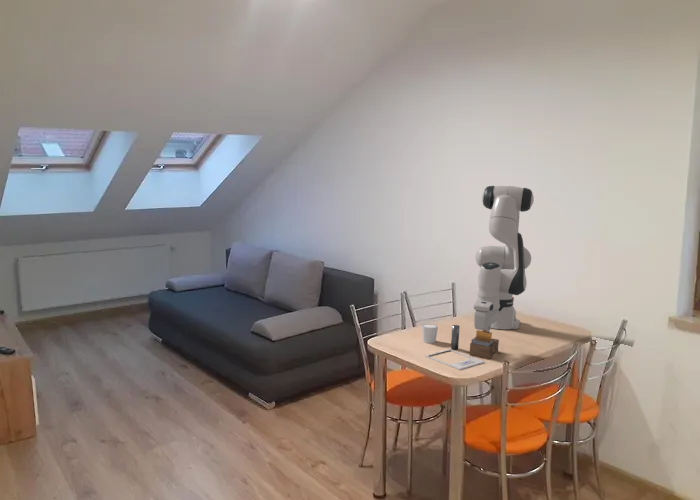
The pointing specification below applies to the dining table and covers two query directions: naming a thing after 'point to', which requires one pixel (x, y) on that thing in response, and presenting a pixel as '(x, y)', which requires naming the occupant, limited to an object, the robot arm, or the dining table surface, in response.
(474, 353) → the dock
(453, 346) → the peg
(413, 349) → the dining table surface
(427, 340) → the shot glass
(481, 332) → the bar
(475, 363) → the photo frame
